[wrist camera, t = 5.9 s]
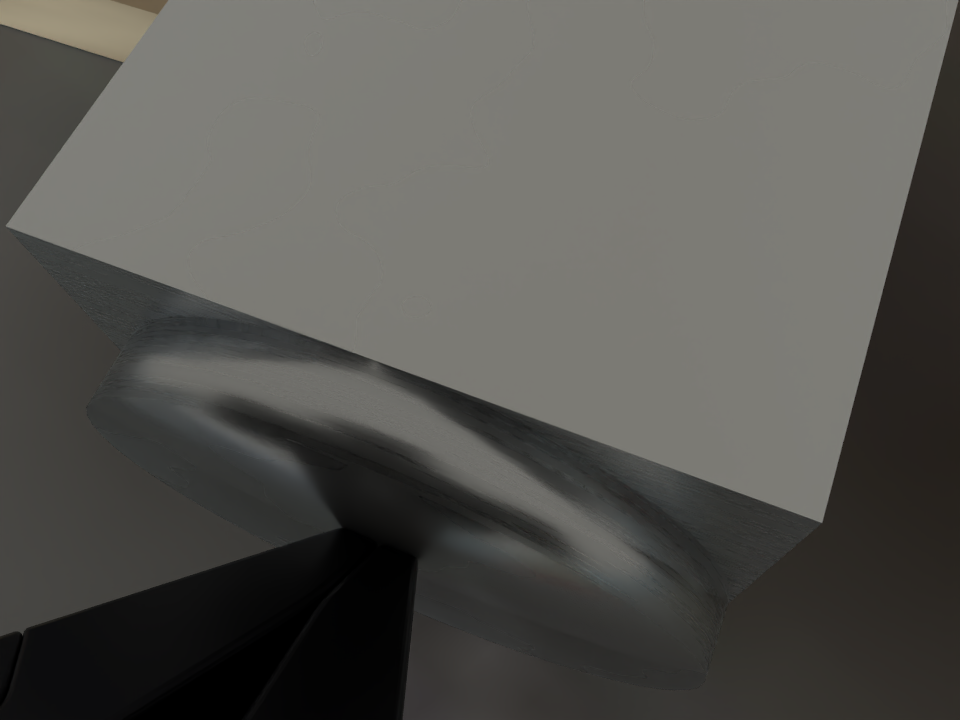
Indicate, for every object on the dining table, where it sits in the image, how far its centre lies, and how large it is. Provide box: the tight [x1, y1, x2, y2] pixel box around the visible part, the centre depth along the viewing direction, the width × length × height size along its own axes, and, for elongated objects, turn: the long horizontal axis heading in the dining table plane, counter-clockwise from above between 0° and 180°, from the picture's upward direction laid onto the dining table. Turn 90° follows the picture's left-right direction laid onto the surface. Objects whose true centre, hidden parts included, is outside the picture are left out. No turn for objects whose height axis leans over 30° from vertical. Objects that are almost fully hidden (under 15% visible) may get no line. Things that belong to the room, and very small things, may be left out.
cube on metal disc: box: [6, 0, 958, 690], centre depth 11 cm, size 8×7×7 cm
